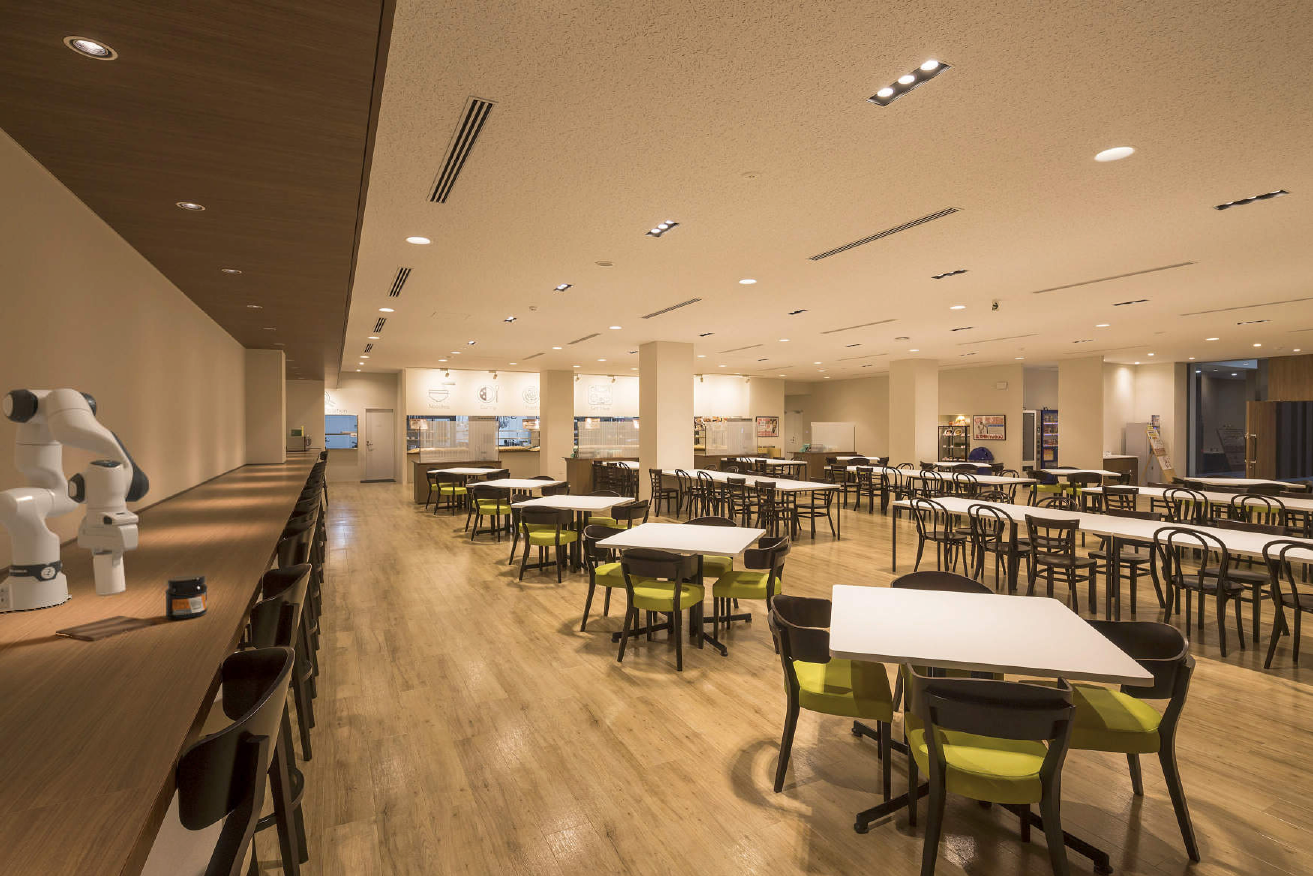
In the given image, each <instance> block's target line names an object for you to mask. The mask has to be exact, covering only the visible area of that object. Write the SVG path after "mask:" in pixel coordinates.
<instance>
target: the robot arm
mask: <svg viewBox="0 0 1313 876" xmlns="http://www.w3.org/2000/svg"><path fill="white" fill-rule="evenodd" d="M97 409H98V407H97V401H96V399H95V398H94V396H93V395H91V394H89V393H85V392H82V391H80V392H79V391H77V390H76V389H72V388H56V389H26V388H22V389H13V390H11V391H9V392H8V393H6V395H5V397H4V399H3V402H2V410H3V413H4V416H5V417H6V418H7V419H8V420H9V421H10V422H14V423H18V425H17V428H16V433H15V441H14V443H15V444H14V463H13V464H14V465H13V466H14V468H15V469H16V471H18V472H19V473H21V474H23V475H24V476H25V478H26V479H27V482H28V486H25V487H23V486H22V487H17V488H16V487H13V488H10V489H9V488H8V489H6V490H3V491H0V524H1V525H2V526H3V528H5V530H6V531H7V533H8V535H9V537H10V540H11V551H12V564H11V565H9V567H8V569H9V572H8V577H7V578H6V579H4V581H2V582H1V583H0V611H5V610H22V609H23V610H24V609H31V608H38V607H46V608H48V607H47V606H51V607H53V606H52V605H55V604H59V605H62V604H64V603H63V602H64V601H66V602H68V600H67V599H68V598H71V599H73V597H72V596H73V595H72V594H68V585H67V584H68V583H67V577H66V575H65V574H64V573H62V572H61V571H62V570H63V568H62V567H63V563H62V559H61V558H60V555H61V553H60V552H61V551H60V549H61V548H60V537H59V535H58V534H57V533H55V532H53V531H50V530H49V528H48V527H47V524H46V519H51V518H58V517H63V516H64V515H68V514H69V513H73V512H74V511H76V510H77V509H78V508H79V505H80V504H81V505H82V504H83V505H86V507H85V514H86V515H85V516H83V518H82V519H81V522H80V524H79V525H78V529H77V530H78V531H77V538H76V539H77V542H76V543H77V546H78V547H79V548H83V549H90V552H91V555H92V557H93V558H94V557H95V555H94V554H95V553H98V552H102V551H103V550H104V551H108V550H112V554H113V557H112V565H113V566H116V565H120V559H121V557H123V555H124V552H127V551H129V552H130V551H133V550H136V549H137V547H138V543H139V529H138V525H137V523H139V515H137V514H135V513H134V512H132V511H130V510H129V509H127V503H130V502H131V503H132V502H133V503H134V502H135V503H137V502H138V501H140V500H142V498H144V497H145V496H146V495H147V494H148V493H149V490H150V481H149V480H150V479H148V476H147V475H146V473H145V472H144V471H143V470H141V469H140V467H139V466H138V465H137V463H136V462H135V460H134V459H133V457H132V455H131V454H130V452H129V450H127V449H126V447H125V445H124V443H123V442H122V441H121V439H120V438H119V437H118V435H117V434H116V433H115V432H113V431H111V430H110V429H108V428H106V427H105V426H103V425H102V424H101V423H99V421H98V420H97V419H96V414H97ZM63 446H65V447H68V448H72V449H77V450H78V449H79V450H83V451H84V450H85V451H89V452H93V453H98V454H100V455H102V456H104V457H106V458H107V459H100V460H99V459H97V460H93V461H90V462H89V463H88V464H87V467H86V469H85V470H83V471H80V472H76V473H75V474H74V475H73V476H71V478H69V479H68V480H67V478H66V476H65V473H64V470H63ZM61 603H62V604H61Z"/></svg>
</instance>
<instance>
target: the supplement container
mask: <svg viewBox="0 0 1313 876" xmlns="http://www.w3.org/2000/svg"><path fill="white" fill-rule="evenodd" d="M166 585H167V588H166V589H165V591H164V593H165V594H164V595H165V617H166V618H167V619H168V620H170V619H172V621H179V620H178V619H185V620H190V619H191V618H192V619H195V617H196V618H199V617H201V616H203V615H205V614H207V612H208V585H207V584H206V575H205V574H199V573H196V574H195V573H194V574H193V573H192V574H191V573H190V574H184V575H183V574H182V575H176V576H173V577H169V578H168V579H167V584H166ZM198 616H199V617H198Z"/></svg>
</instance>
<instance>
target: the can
mask: <svg viewBox="0 0 1313 876" xmlns="http://www.w3.org/2000/svg"><path fill="white" fill-rule="evenodd" d="M94 555H95V557H93V559H92V561H93V563H92V564H93V573H94V584H95V593H96V596H98V597H107V596H114V595H118V594H121V593H123V592H125V590H126V580H125V579H126V578H125V569H124V568H125V567H124V560H123V558H124V557H123V556H122V557H121V559H120V565H116V566H113V565H112V557H113V554H112V550H104V551H103V550H102V551H101V552H98V553H95V554H94Z"/></svg>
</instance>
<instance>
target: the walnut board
mask: <svg viewBox="0 0 1313 876" xmlns="http://www.w3.org/2000/svg"><path fill="white" fill-rule="evenodd" d="M154 624H155V625H157V620H153V619H152V620H151V619H146V618H140V617H139V618H138V617H131V616H125V615H116V616H112V617H108V618H103V619H101V620H99V619H98V620H96V621H92V622H87V623H84V624H80V625H75V626H71V627H68V628H64V629H59V630H56V631H55V634H56V633H59V634H66V635H69V636H72V637H78V638H81V639H80V640H85V641H90V640H92V642H96V641H99V640H103V638H104V637H107V638H110V637H109V636H111V637H113V636H112V635H115V634H118V635H121V634H120V633H122V632H125V631H129V632H132V631H131V630H133V629H137V628H140V629H143V628H142V627H144V628H146V627H145V626H148V625H151V626H154ZM148 627H149V626H148ZM137 630H138V629H137ZM133 631H134V630H133ZM122 634H123V633H122ZM115 636H116V635H115ZM72 637H71V638H72ZM78 638H77V639H78ZM104 639H105V638H104ZM95 640H96V641H95Z"/></svg>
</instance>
